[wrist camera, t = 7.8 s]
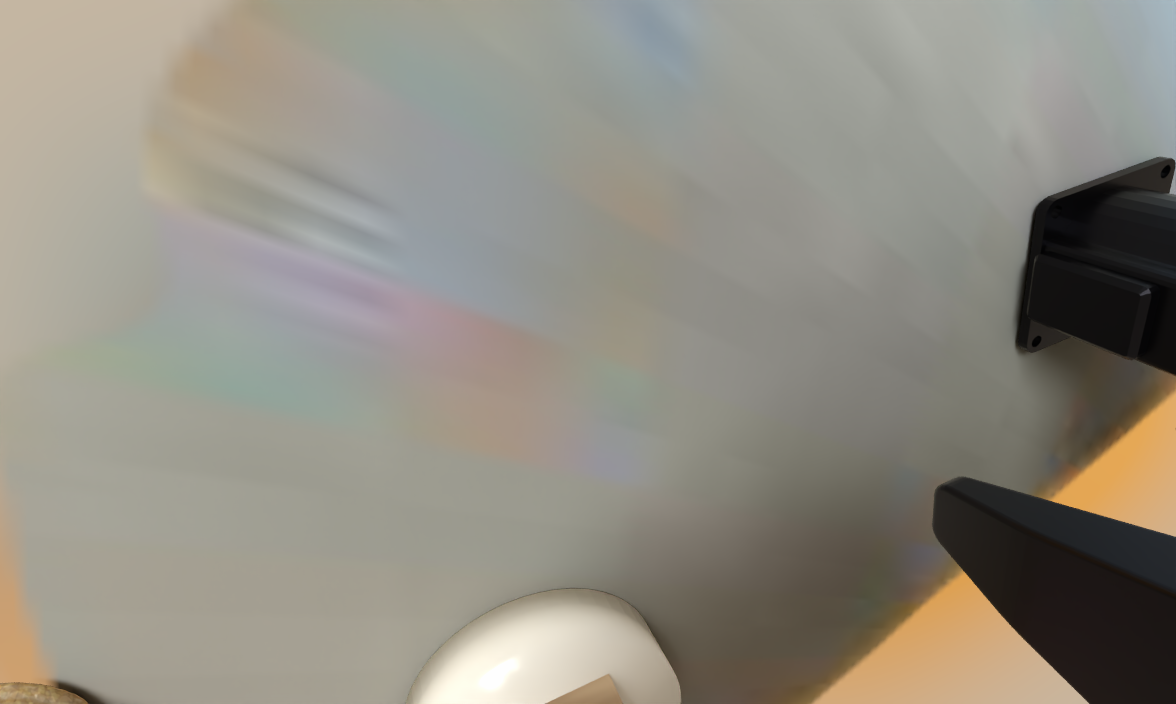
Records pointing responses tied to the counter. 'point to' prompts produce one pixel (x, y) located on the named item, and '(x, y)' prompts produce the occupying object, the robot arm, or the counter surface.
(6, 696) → the sprinkles bottle
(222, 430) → the counter surface
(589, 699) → the beech cube
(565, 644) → the ceramic stand
